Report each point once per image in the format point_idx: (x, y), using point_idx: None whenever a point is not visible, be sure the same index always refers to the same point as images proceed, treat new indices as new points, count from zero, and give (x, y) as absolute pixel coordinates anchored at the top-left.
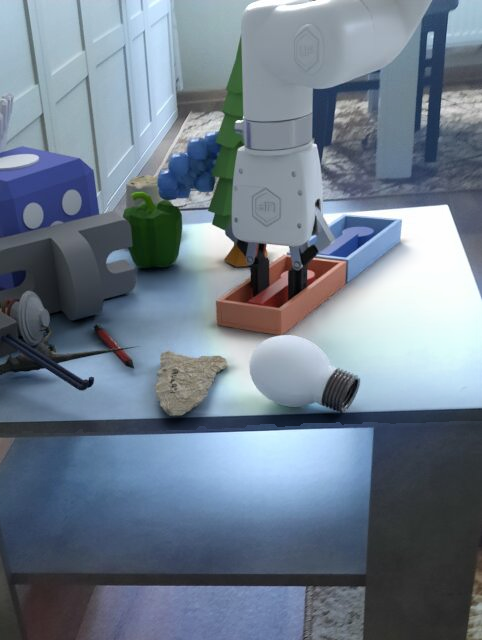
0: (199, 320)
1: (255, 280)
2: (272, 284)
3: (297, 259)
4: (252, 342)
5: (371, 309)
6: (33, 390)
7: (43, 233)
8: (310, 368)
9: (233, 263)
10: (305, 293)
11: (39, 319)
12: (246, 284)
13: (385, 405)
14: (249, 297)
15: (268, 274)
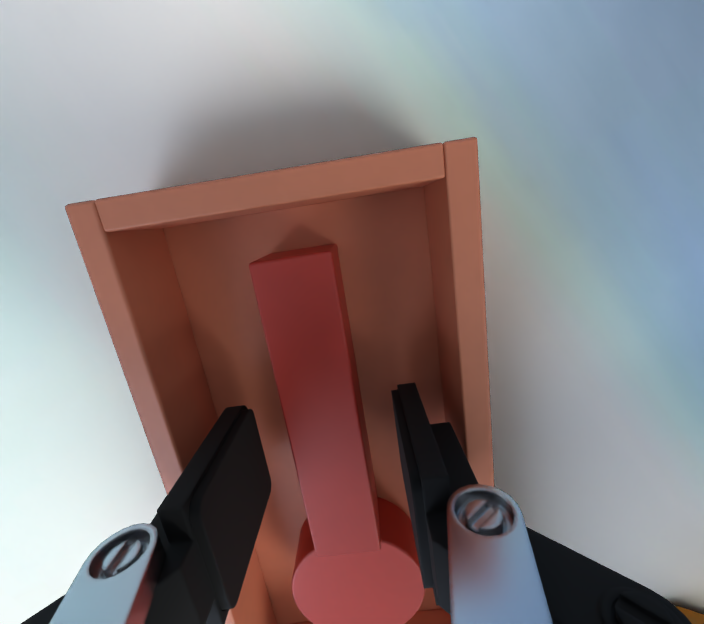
0: (543, 162)
1: (408, 423)
2: (363, 468)
3: (89, 592)
4: (192, 88)
5: (75, 523)
6: None
7: None
8: None
9: (698, 618)
10: (150, 441)
11: None
12: (461, 406)
13: None
14: (445, 393)
15: (410, 515)
